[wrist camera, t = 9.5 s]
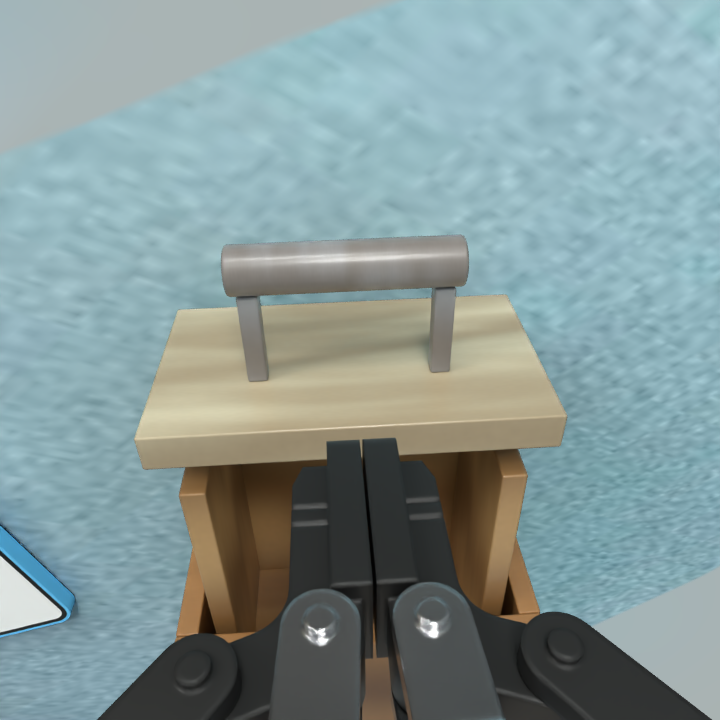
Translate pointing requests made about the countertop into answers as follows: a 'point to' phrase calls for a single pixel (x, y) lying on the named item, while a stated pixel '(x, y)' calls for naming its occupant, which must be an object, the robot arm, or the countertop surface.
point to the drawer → (344, 407)
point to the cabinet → (378, 683)
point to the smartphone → (28, 591)
